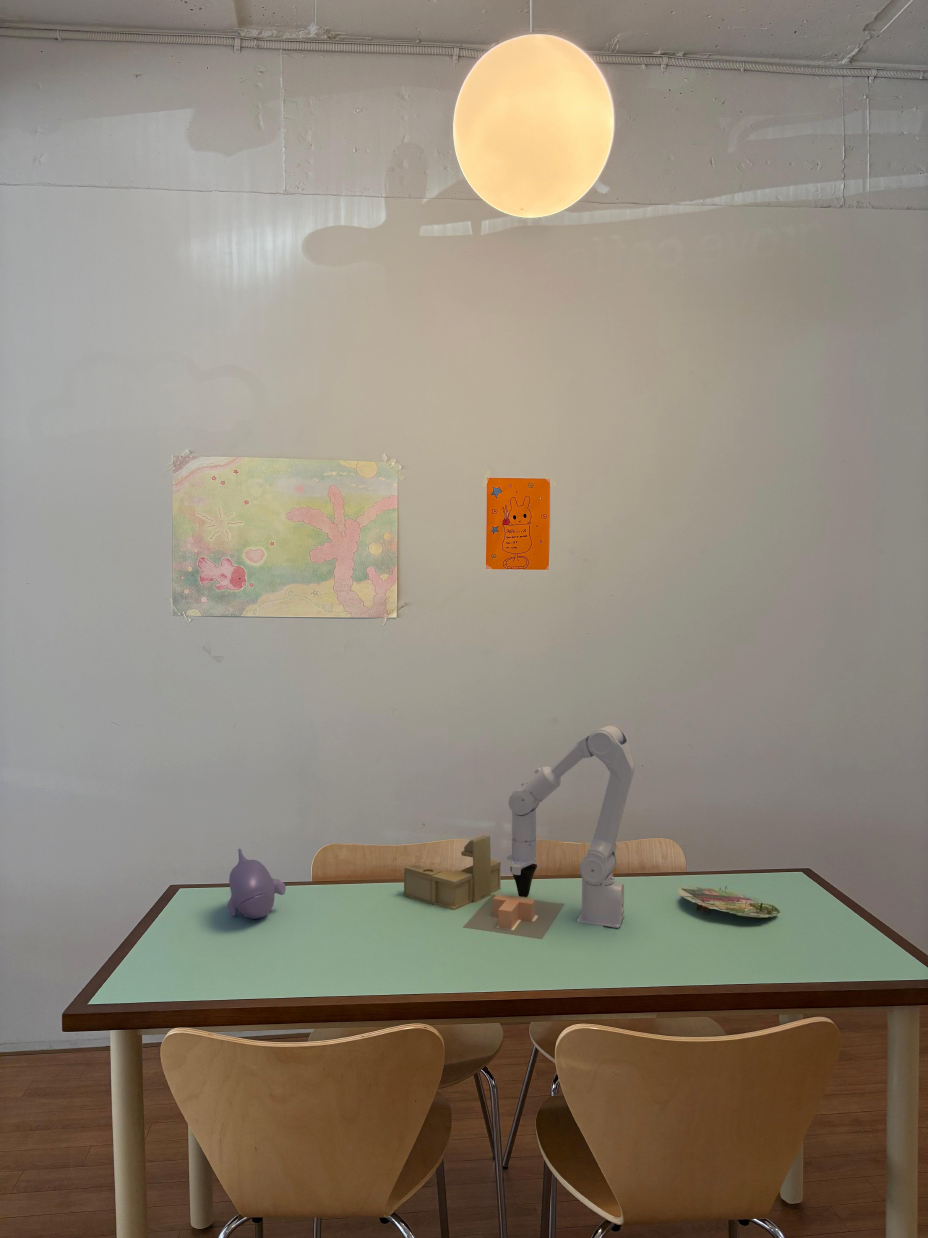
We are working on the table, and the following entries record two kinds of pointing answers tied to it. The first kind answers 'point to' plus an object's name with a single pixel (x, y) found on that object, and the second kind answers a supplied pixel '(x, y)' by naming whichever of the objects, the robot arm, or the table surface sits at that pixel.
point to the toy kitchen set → (456, 879)
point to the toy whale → (252, 888)
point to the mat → (533, 929)
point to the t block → (512, 910)
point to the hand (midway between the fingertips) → (523, 896)
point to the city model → (726, 902)
